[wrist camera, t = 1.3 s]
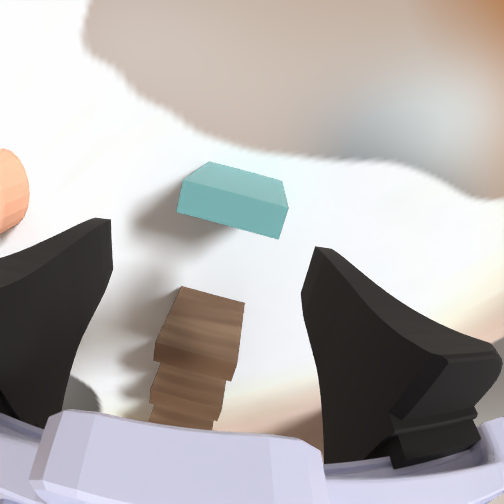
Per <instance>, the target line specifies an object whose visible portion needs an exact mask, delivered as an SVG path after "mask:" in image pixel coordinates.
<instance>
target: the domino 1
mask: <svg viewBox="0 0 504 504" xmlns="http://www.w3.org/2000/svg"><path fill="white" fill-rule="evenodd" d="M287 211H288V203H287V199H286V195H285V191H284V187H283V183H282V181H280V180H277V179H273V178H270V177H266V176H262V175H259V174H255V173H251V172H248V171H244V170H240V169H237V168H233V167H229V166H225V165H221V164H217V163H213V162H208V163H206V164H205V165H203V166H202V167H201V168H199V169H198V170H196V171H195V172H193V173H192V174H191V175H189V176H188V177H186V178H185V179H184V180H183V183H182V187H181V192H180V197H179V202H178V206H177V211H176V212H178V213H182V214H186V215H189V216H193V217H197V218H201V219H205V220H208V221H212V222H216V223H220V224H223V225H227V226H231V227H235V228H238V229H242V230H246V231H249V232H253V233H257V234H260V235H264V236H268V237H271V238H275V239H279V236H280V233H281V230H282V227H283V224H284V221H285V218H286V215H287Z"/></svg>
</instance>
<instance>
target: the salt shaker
mask: <svg viewBox="0 0 504 504" xmlns="http://www.w3.org/2000/svg"><path fill="white" fill-rule="evenodd" d="M28 201H29V186H28V179H27V176H26V172H25V169H24V167H23V165H22V163H21V162H20V160H19V158H18V157H17V156H16V155H15V154H14V153H12V152H11V151H9V150H6V149H0V234H1V233H2V232H4V231H6V230H8V229H9V228H11V227H13V226H15V225H17V224H18V223H19V222H20V221H21V220H22V219H23V217H24V216H25V213H26V210H27V207H28Z"/></svg>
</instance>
